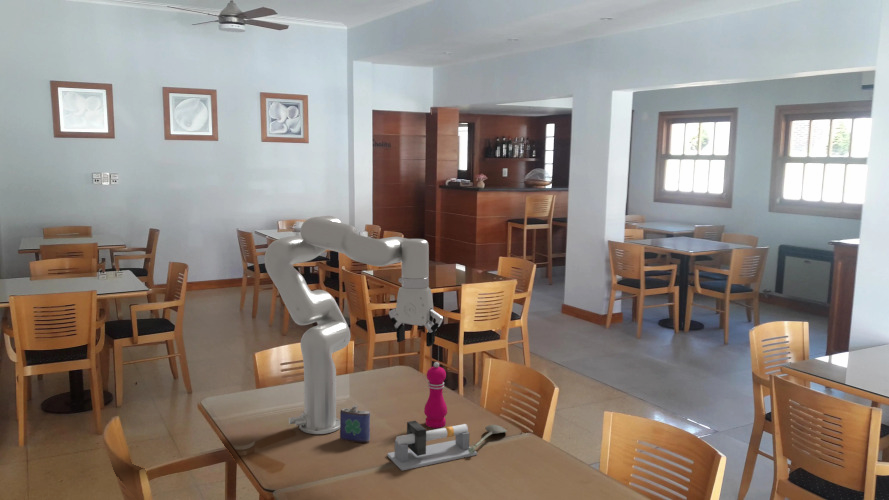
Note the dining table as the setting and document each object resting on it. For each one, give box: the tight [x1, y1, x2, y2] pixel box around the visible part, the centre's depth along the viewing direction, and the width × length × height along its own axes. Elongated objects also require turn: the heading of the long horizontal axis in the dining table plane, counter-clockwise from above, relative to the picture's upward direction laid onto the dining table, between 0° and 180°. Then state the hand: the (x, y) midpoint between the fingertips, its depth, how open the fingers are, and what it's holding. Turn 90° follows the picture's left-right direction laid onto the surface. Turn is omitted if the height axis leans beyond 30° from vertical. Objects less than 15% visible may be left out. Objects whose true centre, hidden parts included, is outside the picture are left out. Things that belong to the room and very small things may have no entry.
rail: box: [386, 423, 478, 471], centre depth 187 cm, size 23×10×7 cm, turn 117°
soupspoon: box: [468, 424, 508, 453], centre depth 197 cm, size 22×3×7 cm
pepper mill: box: [423, 361, 448, 429], centre depth 209 cm, size 7×7×20 cm
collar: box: [406, 420, 427, 456], centre depth 185 cm, size 2×7×7 cm, turn 27°
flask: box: [339, 404, 371, 444], centre depth 197 cm, size 9×3×11 cm, turn 74°
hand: (415, 343), depth 190 cm, fingers open, 9 cm apart
